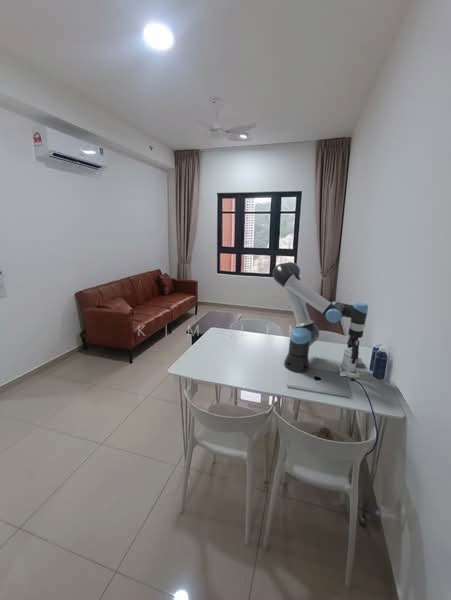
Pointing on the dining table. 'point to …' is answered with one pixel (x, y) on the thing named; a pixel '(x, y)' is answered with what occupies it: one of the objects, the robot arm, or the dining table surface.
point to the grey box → (360, 363)
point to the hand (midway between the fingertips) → (349, 362)
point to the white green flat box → (348, 374)
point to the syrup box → (348, 361)
